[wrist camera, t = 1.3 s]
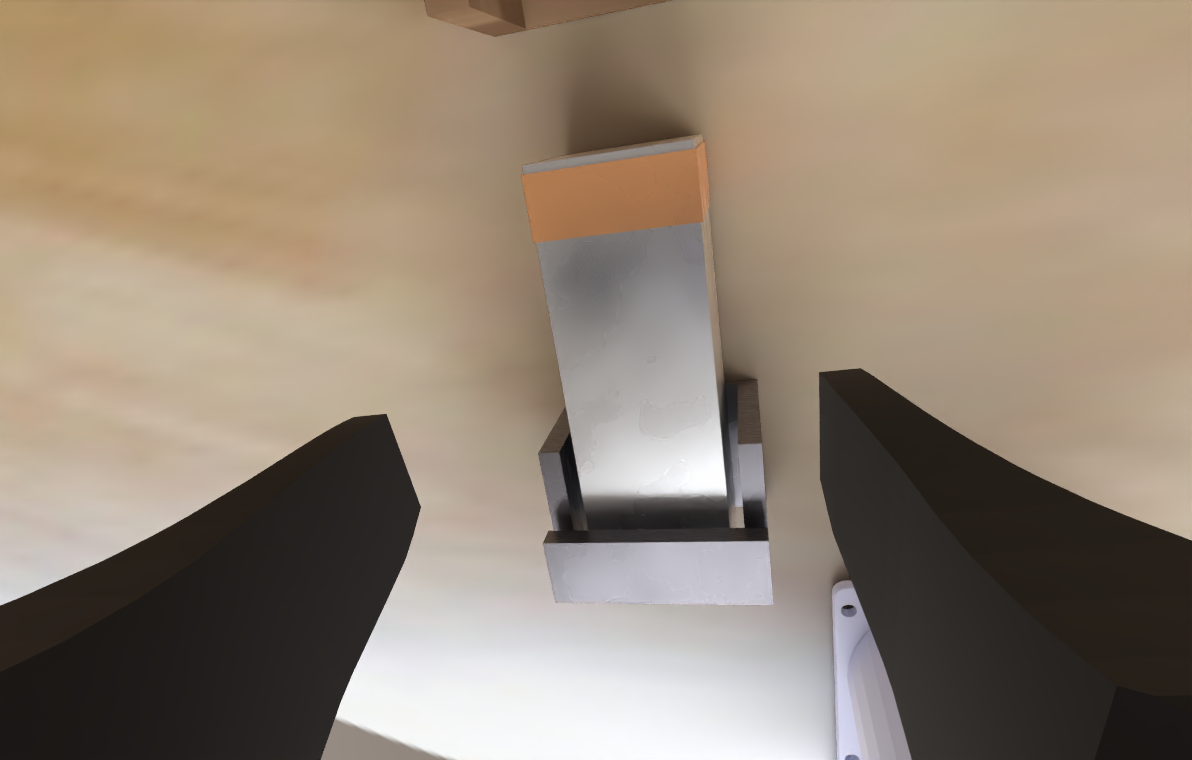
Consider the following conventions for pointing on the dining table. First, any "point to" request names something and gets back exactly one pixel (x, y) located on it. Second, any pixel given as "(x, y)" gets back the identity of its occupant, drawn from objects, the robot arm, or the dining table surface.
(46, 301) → the dining table surface
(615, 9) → the socket
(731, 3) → the dining table surface
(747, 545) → the sleeve
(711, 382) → the tube
